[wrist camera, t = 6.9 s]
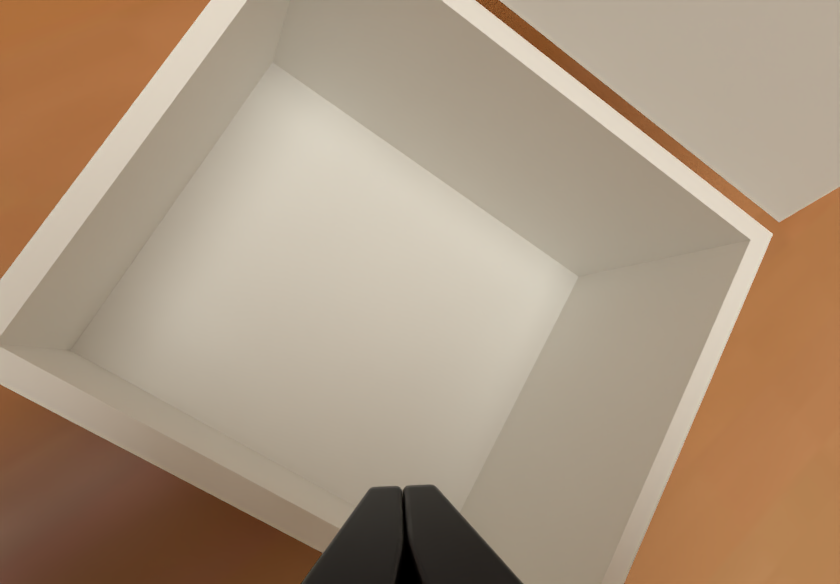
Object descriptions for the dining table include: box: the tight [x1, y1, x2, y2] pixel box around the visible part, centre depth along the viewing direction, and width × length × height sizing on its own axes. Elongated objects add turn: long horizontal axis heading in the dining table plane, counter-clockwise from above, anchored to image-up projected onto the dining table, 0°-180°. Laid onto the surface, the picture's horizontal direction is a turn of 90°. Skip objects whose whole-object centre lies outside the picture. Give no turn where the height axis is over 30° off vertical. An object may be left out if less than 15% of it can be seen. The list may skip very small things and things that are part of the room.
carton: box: [0, 0, 773, 584], centre depth 17 cm, size 11×13×8 cm
